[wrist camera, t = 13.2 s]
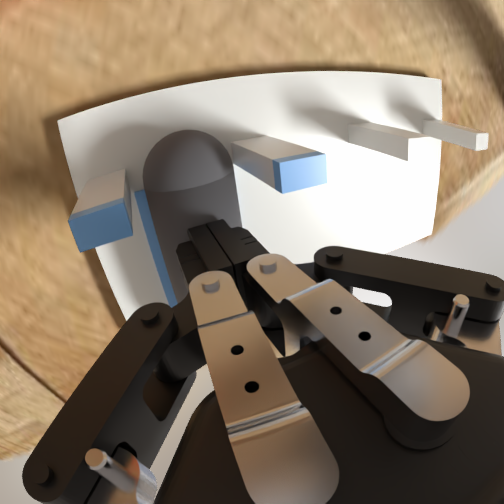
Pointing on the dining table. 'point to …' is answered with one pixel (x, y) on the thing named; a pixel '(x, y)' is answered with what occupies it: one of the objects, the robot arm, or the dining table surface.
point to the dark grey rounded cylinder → (188, 192)
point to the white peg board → (267, 166)
